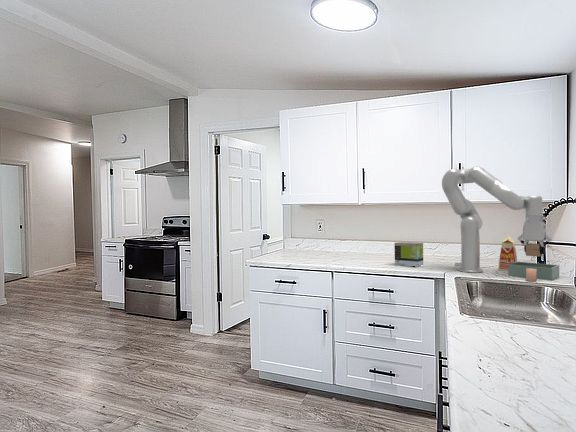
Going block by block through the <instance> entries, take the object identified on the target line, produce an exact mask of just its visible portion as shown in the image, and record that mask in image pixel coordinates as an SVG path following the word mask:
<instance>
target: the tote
mask: <svg viewBox="0 0 576 432" xmlns="http://www.w3.org/2000/svg"><path fill="white" fill-rule="evenodd" d="M526 268H533V269H537V280H542V281H543V280H545V281H553V280H556V279H558V278H560V265H559V264H550V263H549V264H548V263H537V262H525V261H517V262H515V263H511V264H509V271H508V276H511V277H518V278H526Z"/></svg>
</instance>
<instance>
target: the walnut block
mask: <svg viewBox="0 0 576 432" xmlns="http://www.w3.org/2000/svg"><path fill="white" fill-rule="evenodd" d="M540 247H541V245H540V243H531V242H528V244H526V253H525V256H527V257H542V256H543V254H540Z"/></svg>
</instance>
